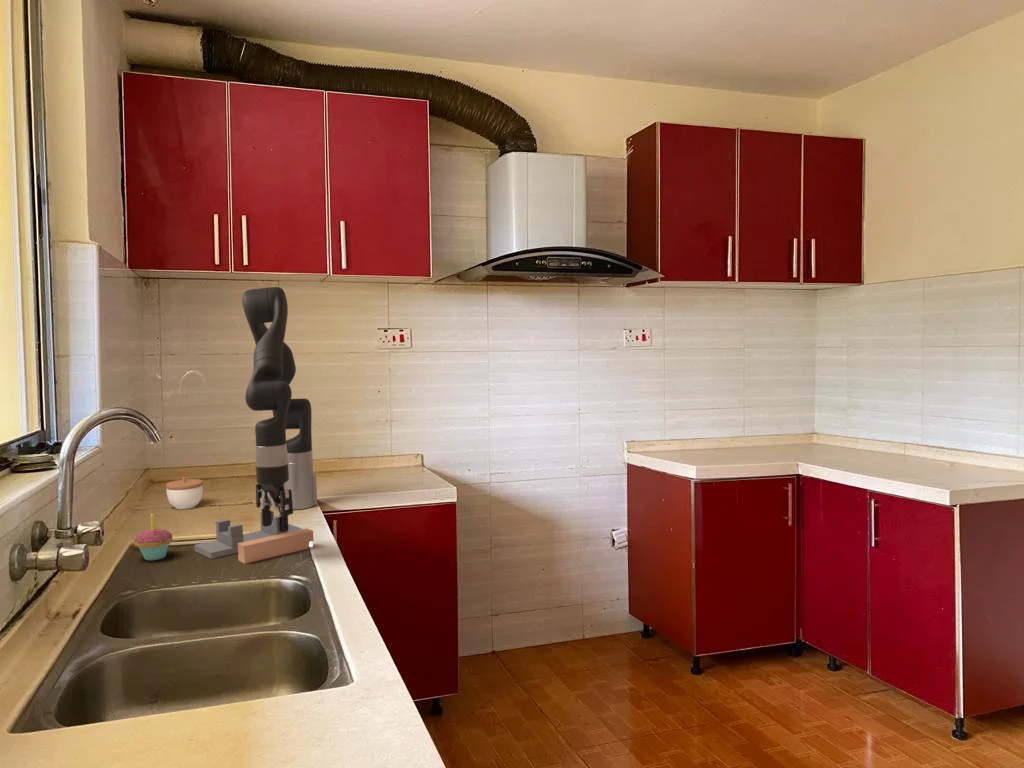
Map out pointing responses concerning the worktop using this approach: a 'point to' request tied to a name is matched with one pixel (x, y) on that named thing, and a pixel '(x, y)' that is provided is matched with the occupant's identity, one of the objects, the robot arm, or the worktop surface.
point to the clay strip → (274, 545)
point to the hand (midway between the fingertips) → (275, 528)
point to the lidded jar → (184, 493)
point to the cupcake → (153, 542)
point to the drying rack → (236, 537)
